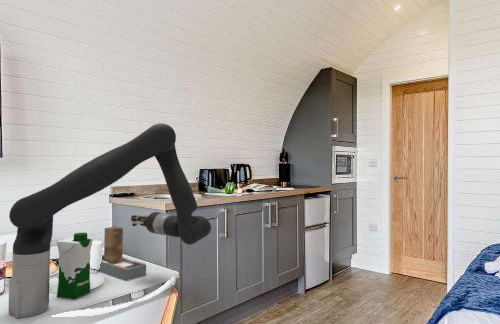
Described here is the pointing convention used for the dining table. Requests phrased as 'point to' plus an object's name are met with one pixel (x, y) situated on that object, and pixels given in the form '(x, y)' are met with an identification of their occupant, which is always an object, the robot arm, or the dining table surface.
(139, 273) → the tray
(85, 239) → the milk carton
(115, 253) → the walnut block
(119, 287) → the dining table surface
